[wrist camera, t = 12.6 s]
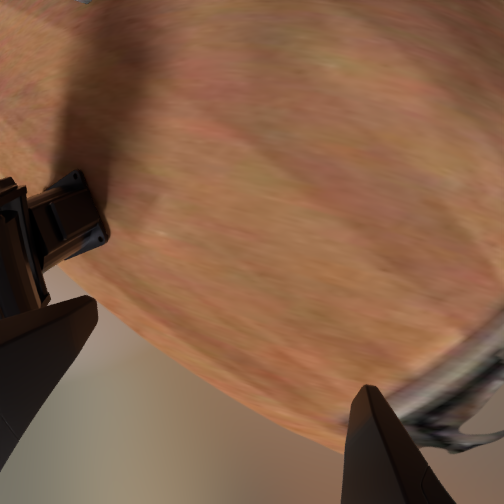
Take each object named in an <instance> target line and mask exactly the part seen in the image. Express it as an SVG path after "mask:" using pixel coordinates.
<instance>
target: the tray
mask: <svg viewBox="0 0 504 504" xmlns="http://www.w3.org/2000/svg"><path fill="white" fill-rule="evenodd" d="M76 1H79V2H82V3H85V4H88V3H89V2H91V1H92V0H76Z"/></svg>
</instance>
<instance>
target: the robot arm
mask: <svg viewBox="0 0 504 504" xmlns="http://www.w3.org/2000/svg"><path fill="white" fill-rule="evenodd" d="M77 176H78V178H77ZM26 193H27V188H26V185H23V186H18V185H17V184H16V183H15V182H14V180H13V179H12V177H6V178H3V179H0V472H1V470H2V468H3V466H4V464H5V463H6V461H7V460H8V458H9V456H10V455H11V453H12V452H13V450H14V448H15V447H16V445H17V443H18V442H19V440H20V438H21V437H22V435H23V433H24V432H25V431H26V429H27V428H28V426H29V424H30V423H31V421H32V420H33V418H34V417H35V415H36V414H37V412H38V411H39V409H40V408H41V406H42V405H43V403H44V402H45V401H46V399H47V398H48V396H49V395H50V394H51V392H52V391H53V389H54V388H55V386H56V385H57V384H58V382H59V381H60V379H61V378H62V377H63V375H64V374H65V373H66V371H67V370H68V368H69V367H70V366H71V364H72V363H73V362H74V360H75V358H76V357H77V356H78V354H79V353H80V351H81V350H82V347H83V346H84V344H85V343H86V341H87V339H88V338H89V336H90V334H91V333H92V331H93V330H94V328H95V326H96V324H97V322H98V310H97V301H96V299H94V298H92V297H90V296H88V295H84V296H80V297H77V298H73V299H70V300H67V301H63V302H60V303H56V304H53V305H49V306H47V305H48V303H49V302H50V300H51V297H50V294H49V292H48V291H47V288H46V284H45V281H44V278H43V273H45V272H46V271H47V270H49V269H50V268H52V267H54V266H55V265H57V264H58V263H60V262H61V261H63V260H67V259H70V258H72V257H74V256H77V255H79V254H82V253H84V252H87V251H89V250H92V249H94V248H97V247H99V246H102V245H104V244H105V243H107V242H108V236H107V234H106V231H105V229H104V227H103V224H102V222H101V220H100V217H99V215H98V212H97V210H96V207H95V205H94V202H93V200H92V197H91V195H90V192H89V189H88V187H87V184H86V181H85V179H84V176H83V173H82V171H81V170H79V169H77V170H74V171H72V172H71V173H69V174H68V175H66V176H65V177H64V178H62V179H61V180H59V181H58V182H57V183H55V184H54V185H52V186H51V187H50V188H48V189H47V190H46V191H44V192H42V193H40V194H37V195H34V196H32V197H29V198H27V197H26ZM101 237H102V238H103V240H102V239H101ZM341 504H456V502H455V501H454V500H453V499H452V497H451V496H450V495H449V493H448V492H447V491H446V490H445V488H444V487H443V486H442V484H441V483H440V481H439V480H438V478H437V477H436V475H435V474H434V473H433V471H432V469H431V467H430V466H428V463H427V461H426V460H425V458H424V457H423V455H422V454H421V452H420V451H419V449H418V448H417V446H416V444H415V443H414V441H413V440H412V438H411V437H410V435H409V434H408V432H407V431H406V429H405V428H404V426H403V425H402V423H401V422H400V420H399V419H398V417H397V416H396V414H395V413H394V411H393V410H392V408H391V407H390V405H389V404H388V402H387V401H386V399H385V398H384V396H383V395H382V393H381V392H380V390H379V389H378V388H377V387H376V386H373V385H367V384H366V385H364V386H363V387H362V388H361V389H360V391H359V392H358V394H357V395H356V397H355V398H354V399H353V401H352V404H351V410H350V417H349V423H348V430H347V436H346V443H345V452H344V470H343V484H342V495H341Z"/></svg>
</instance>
